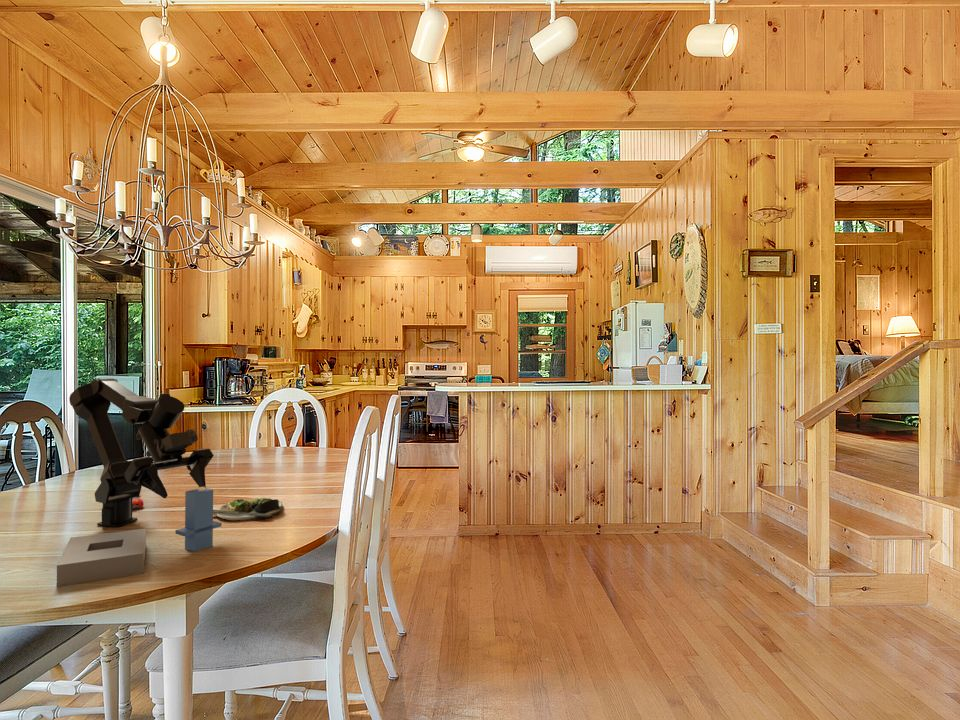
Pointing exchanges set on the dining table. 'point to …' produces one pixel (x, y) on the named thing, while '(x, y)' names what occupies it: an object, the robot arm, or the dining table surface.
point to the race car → (137, 503)
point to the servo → (198, 519)
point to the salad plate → (249, 509)
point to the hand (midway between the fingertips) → (185, 492)
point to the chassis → (102, 557)
